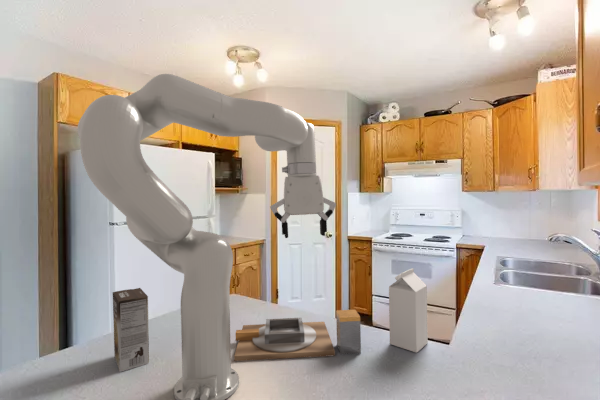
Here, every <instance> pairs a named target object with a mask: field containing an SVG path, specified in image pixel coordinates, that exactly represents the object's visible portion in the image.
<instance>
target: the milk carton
mask: <svg viewBox="0 0 600 400" xmlns="http://www.w3.org/2000/svg"><path fill="white" fill-rule="evenodd" d="M414 270H415V269H414V267H413V268H409V269H407V270H406V271H404V272H403V271H402V272H401V273H399V274H398V275H396V276H395V277H394V279H395V280H396V281H394V282H393V283H392V284H391V285H389V287H388V311H389V313H388V314H389V315H388V317H389V322H388V323H389V344H390V345H391V346H395V347H396V348H397V347H398V348H401V349H405V350H408V351H410V352H413V353H418V352H420V351H421V350H422V349H423V348H424V347H425V346H426V345H427V344H428V341H429V339H428V334H429V333H428V288H427V284H426V283H425V282H424V281H423V280H422V279H421V278H420V277H419V276H418V275H417V274H416V273H415V272H414Z"/></svg>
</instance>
